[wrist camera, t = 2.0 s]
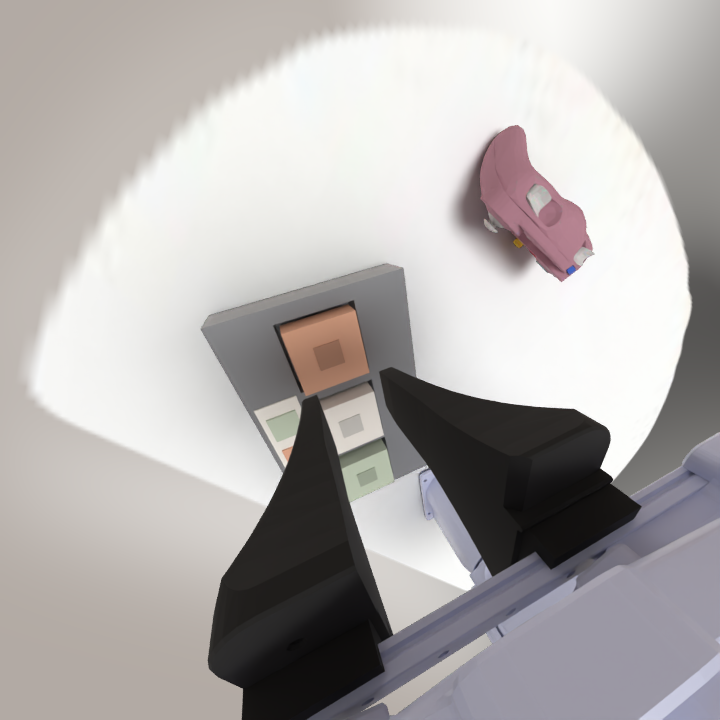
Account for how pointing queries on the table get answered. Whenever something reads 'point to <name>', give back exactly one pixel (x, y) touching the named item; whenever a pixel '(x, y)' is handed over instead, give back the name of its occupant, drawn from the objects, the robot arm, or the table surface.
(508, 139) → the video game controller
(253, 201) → the table surface
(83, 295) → the table surface
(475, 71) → the table surface
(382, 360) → the keypad
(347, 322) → the terracotta key
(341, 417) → the white key
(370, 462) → the sage key
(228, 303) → the table surface
